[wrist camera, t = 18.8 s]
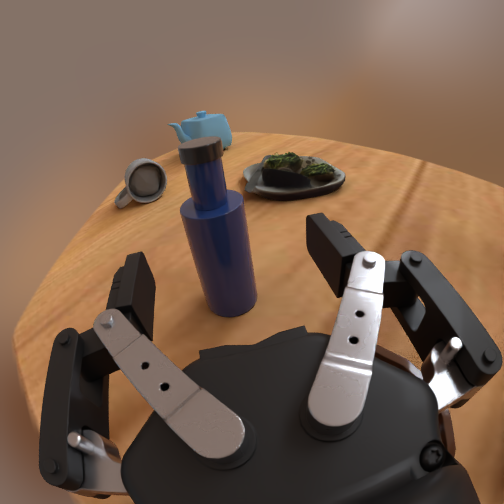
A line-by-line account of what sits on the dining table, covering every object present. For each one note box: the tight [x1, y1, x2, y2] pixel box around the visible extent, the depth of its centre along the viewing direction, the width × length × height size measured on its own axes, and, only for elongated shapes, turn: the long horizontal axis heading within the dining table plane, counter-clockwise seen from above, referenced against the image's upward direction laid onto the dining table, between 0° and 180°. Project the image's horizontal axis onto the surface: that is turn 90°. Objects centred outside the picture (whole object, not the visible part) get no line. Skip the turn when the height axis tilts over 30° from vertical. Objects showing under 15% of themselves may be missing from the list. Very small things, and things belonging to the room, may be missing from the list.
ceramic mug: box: [115, 158, 167, 208], centre depth 47 cm, size 11×8×8 cm
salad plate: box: [243, 152, 345, 201], centre depth 47 cm, size 19×18×5 cm
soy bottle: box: [178, 136, 257, 317], centre depth 22 cm, size 5×5×15 cm
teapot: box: [168, 111, 232, 149], centre depth 67 cm, size 12×18×12 cm
